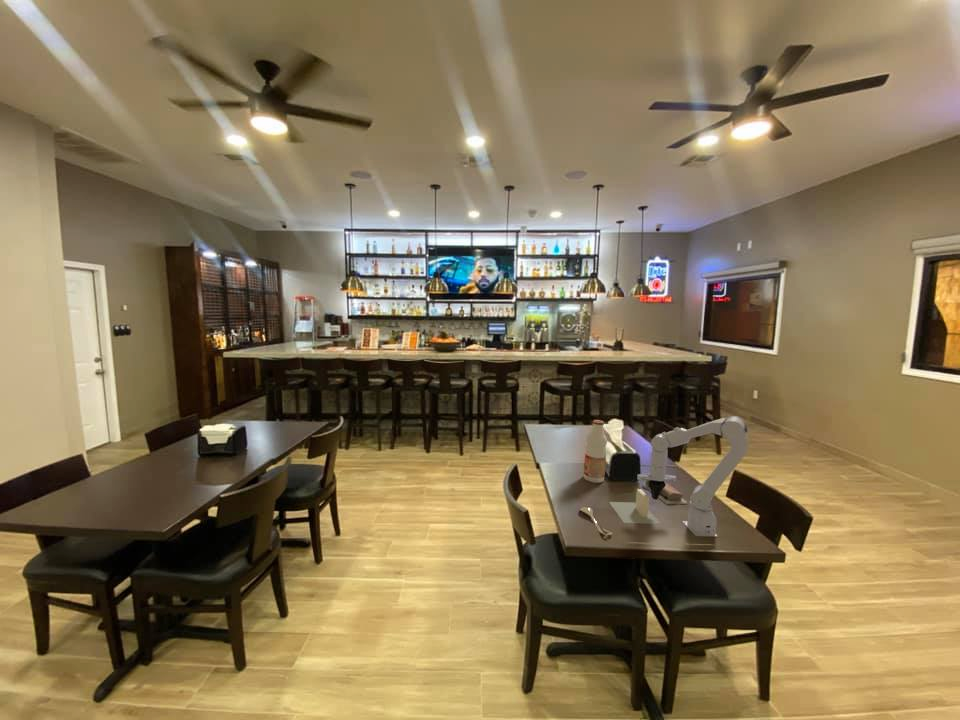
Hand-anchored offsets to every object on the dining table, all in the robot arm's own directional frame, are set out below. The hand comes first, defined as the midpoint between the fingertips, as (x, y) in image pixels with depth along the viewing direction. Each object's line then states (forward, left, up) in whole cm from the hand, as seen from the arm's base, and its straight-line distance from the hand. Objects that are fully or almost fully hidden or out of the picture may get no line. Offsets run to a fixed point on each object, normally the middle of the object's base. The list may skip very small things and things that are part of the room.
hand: (654, 498), depth 154 cm
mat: (0, +8, -6) cm, 10 cm away
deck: (0, +5, -6) cm, 8 cm away
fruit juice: (+31, +14, -7) cm, 34 cm away
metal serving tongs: (-8, +26, -7) cm, 28 cm away
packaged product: (+17, -13, -7) cm, 22 cm away
